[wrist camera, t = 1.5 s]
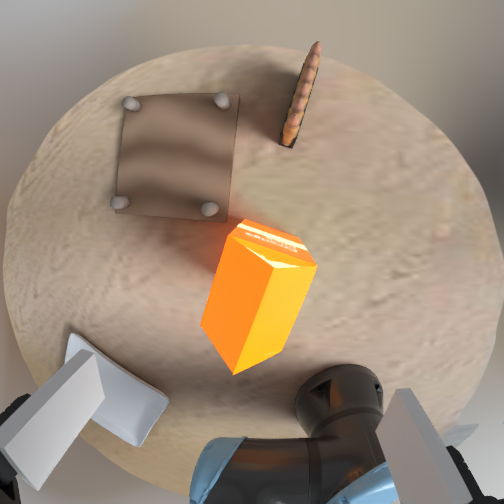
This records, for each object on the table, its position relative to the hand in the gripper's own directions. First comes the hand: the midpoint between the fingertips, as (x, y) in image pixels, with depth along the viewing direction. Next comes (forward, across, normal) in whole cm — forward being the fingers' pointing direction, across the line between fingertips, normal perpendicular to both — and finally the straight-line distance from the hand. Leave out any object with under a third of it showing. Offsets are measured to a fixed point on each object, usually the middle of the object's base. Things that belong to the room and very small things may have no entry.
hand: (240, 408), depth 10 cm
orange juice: (+28, 0, 0) cm, 28 cm away
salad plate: (+28, +26, +30) cm, 49 cm away
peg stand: (+28, +13, -13) cm, 33 cm away
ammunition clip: (+28, -3, -20) cm, 35 cm away
